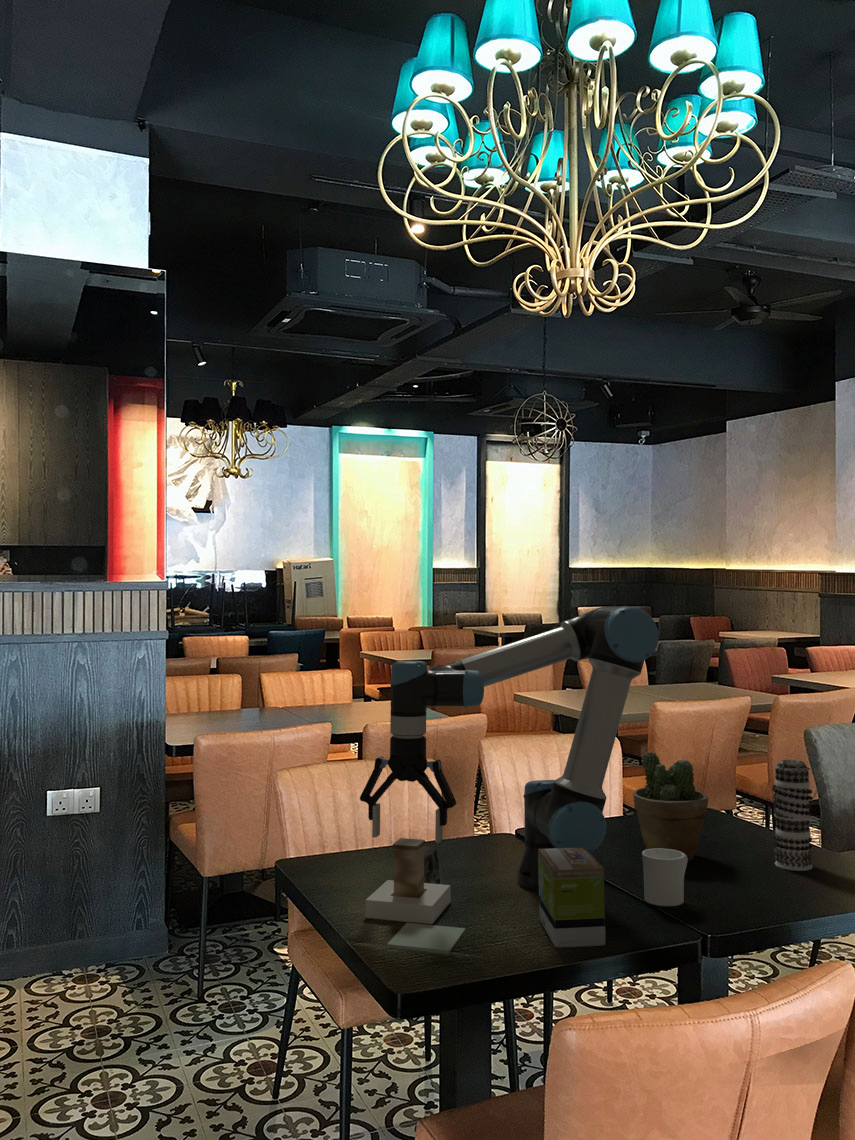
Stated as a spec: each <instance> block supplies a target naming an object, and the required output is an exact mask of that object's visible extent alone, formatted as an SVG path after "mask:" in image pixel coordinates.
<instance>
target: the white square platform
mask: <svg viewBox="0 0 855 1140" xmlns="http://www.w3.org/2000/svg"><path fill="white" fill-rule="evenodd" d="M451 895H452V894H451V884H443V883H442V884H430V883H424V894H423V895H422V896H421V897H420V898H411V897H400V896H394V879H392V880H391V879H387V880H386V881H385V882H384V883H383V884H381V886H379V887H378V888H377V889H376V890H375V891H374V892H373V893H372V894H370V895H369V896H368V897H367V898H366V899H365V919H374V920H375V919H376V920H377V919H378V920H385V921H386V920H387V921H395V922H406V923H415V924H426V925H433V924H434V923H435V922H436V920H438V918H439V917H440V915H441V914H442V913H443V912H444V911H445V909H446V908H447V907H448V906H449V904H451V898H452V897H451Z"/></svg>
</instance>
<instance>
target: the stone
mask: <svg viewBox="0 0 855 1140" xmlns="http://www.w3.org/2000/svg"><path fill="white" fill-rule="evenodd" d="M442 873H443V872H442V868H441V864H440V859H439V855H438V849H437V848H436V847H435V848H434V847H430V846H426V845H424V883H430V884H442V885H443V874H442Z"/></svg>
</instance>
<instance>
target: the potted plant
mask: <svg viewBox="0 0 855 1140" xmlns="http://www.w3.org/2000/svg"><path fill="white" fill-rule="evenodd" d="M641 758H642V759H641V763H642V767H643V768H644V774H645V779H644V780H645V784H646V785H644V787H640V788H637V789H636V790H634V791H633V792H632V798H633V806H634V807H633V808H634V810H635V812H636V814H637V818H638V822H639V823H638V824H639V827H640V833H641V836H642V840H643V843H644V846H645V850H647V849H654V848H663V849H672V850H677V851H680V852H682V853H684V854H685V855H687V858H688V862H690V861H691V860H693V859H694V858H695V855H696V851H697V847H698V844H699V841H700V838H701V833H702V828H703V825H704V818H705V816H706V814H707V812H708V806H709V805H708V804H709V795H708V794H707V793H705V792H703V791H700V790H696V786H695V784H694V782H695V780H694V777H695V773H694V770H695V769H694V766H693V764H692V763H691V762H690V761H689V760H688V759H680V760H677V761H676V762H674V763H673V765H671V766H669V768H668V769H666V766H665V765H664V764H662V763H661V762H660V761H661V760H660V757H659V756H658V755H657V753H656V752H651V751H649V752H645V753H644V754H643V755H642V756H641Z"/></svg>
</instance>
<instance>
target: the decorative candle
mask: <svg viewBox="0 0 855 1140" xmlns="http://www.w3.org/2000/svg"><path fill="white" fill-rule="evenodd" d="M773 767H774V769H775V778H774V783H773V785H772V788H771V790H772V792H773V794H772V799H774V800H773V802H772V805H773V806H774V807H775V808H774V809H773V816H774V818H776V819H775V823H776V824H775V834H774V836H773V838H774V839H775V841H774V846H776V848H774V850H773V851H774V854H775V855H774V860H775V862H774V865H775V866H776V867H777V868H780V869H783V870H787V871H797V872H798V871H799V872H802V871H803V872H804V871H810V870H812V869H813V865H812V863H813V861H814V860H813V858H812V856H813V852H812V850H811V849H812V848H813V845H812V841H813V838H812V837H811V836H812V835H811V829H810V826H811V825H810V823H811V822H810V820H812V814H813V812H812V811H811V809H812V808H813V805H812V804H811V803H809V802H811V801H812V800H813V799H814V798H813V797H812V796H811V795H812V793H813V790H812V789H810V787H811V786H810V785H811V784H810V779H809V777H810V776H809V775H810V774H809V771H810V769H811V768H809V767H808V766H807V765H806V763H805V762H803V761H801V760H799V759H796V760H794V759H782V760H780V761H778V763H777V764H776V765H774V766H773Z"/></svg>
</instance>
